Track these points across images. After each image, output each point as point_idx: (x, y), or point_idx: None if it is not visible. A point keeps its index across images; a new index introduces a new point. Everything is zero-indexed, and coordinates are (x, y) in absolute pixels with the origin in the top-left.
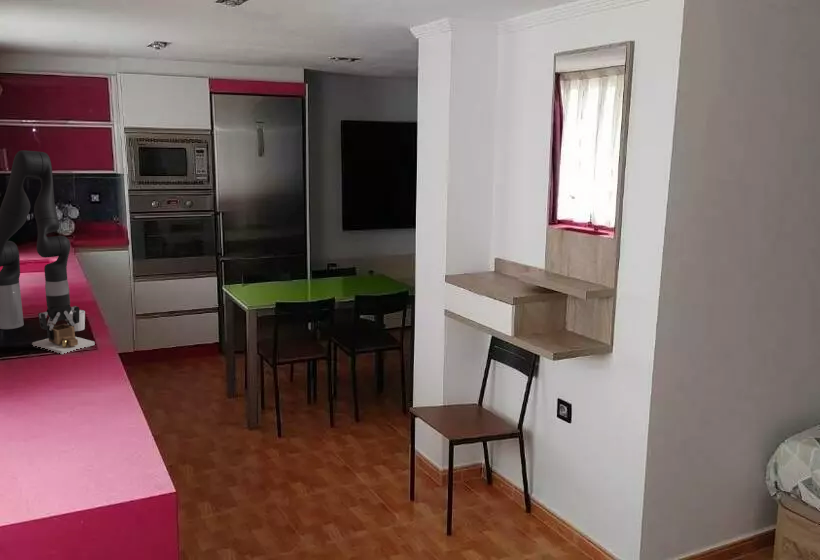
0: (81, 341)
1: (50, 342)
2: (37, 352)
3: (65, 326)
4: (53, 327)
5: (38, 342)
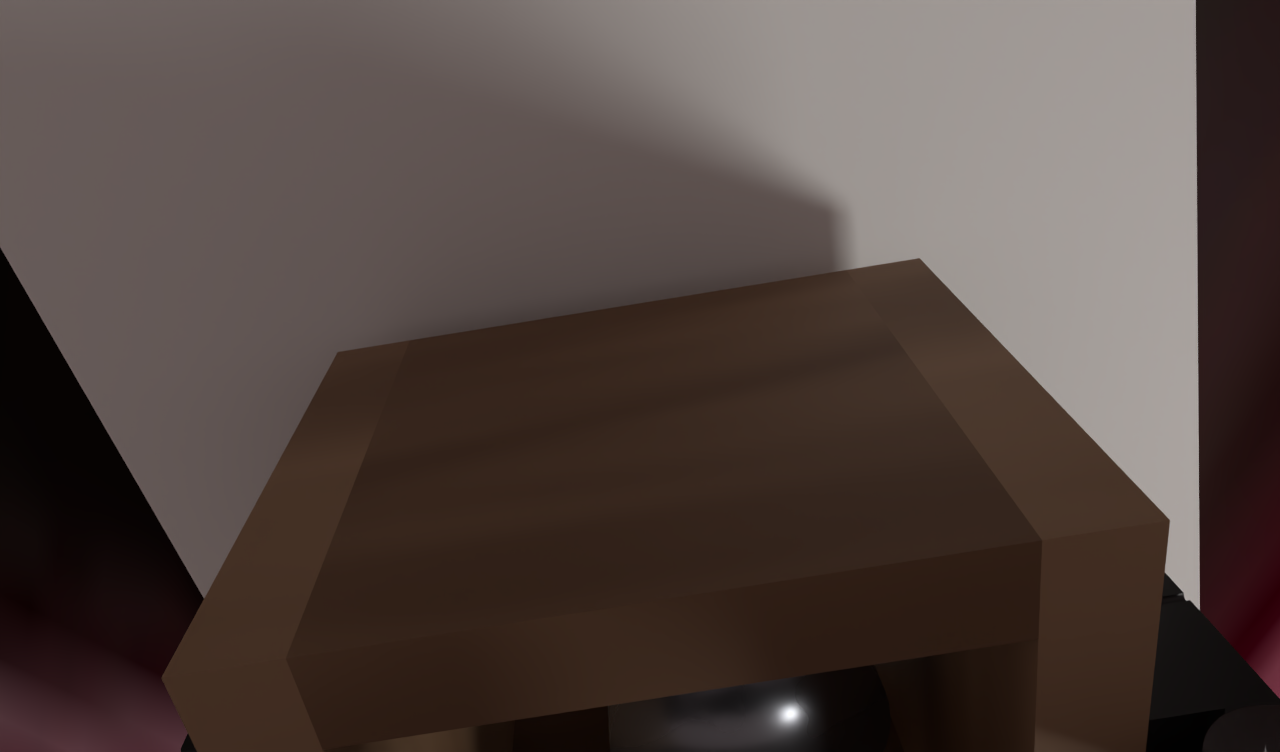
0: None
1: (393, 324)
2: (18, 610)
3: (1005, 698)
4: (471, 701)
5: (47, 87)
